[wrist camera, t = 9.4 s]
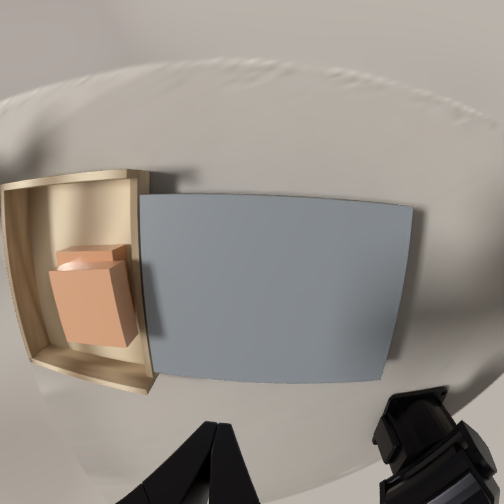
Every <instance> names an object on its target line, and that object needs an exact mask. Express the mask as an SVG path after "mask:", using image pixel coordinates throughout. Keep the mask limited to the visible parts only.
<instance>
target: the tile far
mask: <svg viewBox="0 0 504 504" xmlns="http://www.w3.org/2000/svg"><path fill="white" fill-rule="evenodd" d="M56 258H57V264H58V267H59V266H61V265H63V264H65V263H82V262H101V261H120V260H124V261H125V267H126V273H127V279H128V284H129V289H130V295H131V300H132V305H133V309H134V313H135V307H134V301H133V295H132V289H131V282H130V276H129V268H128V261H127V252H126V244H117V245H91V246H71V247H68V248H65V249H63V250H60V251H57V252H56Z"/></svg>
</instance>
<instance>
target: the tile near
mask: <svg viewBox="0 0 504 504" xmlns="http://www.w3.org/2000/svg"><path fill="white" fill-rule="evenodd" d="M49 276H50V281H51V285H52V290H53V294H54V298H55V302H56V306H57V309H58V313H59V316H60V320H61V323H62V327H63V330H64V333H65V336H66V339H67V342H75V343H82V344H91V345H100V346H110V347H121V348H127V347H128V346H129V345H130V344H131V342H132V341H133V340H134V339H135V337H136V336H137V335H138V334H139V332H138V327H137V323H136V319H135V314H134V309H133V305H132V300H131V295H130V289H129V284H128V279H127V273H126V267H125V261H124V260H120V261H101V262H82V263H65V264H63V265H61V266H59V267H56V268H54V269H52V270H50V271H49Z"/></svg>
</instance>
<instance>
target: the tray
mask: <svg viewBox="0 0 504 504" xmlns="http://www.w3.org/2000/svg"><path fill="white" fill-rule="evenodd" d="M145 194H150V171H143V170H132V169H119V170H106V171H95V172H85V173H75V174H67V175H59V176H51V177H44V178H37V179H30V180H24V181H18V182H12V183H6V184H1V218H2V232H3V243H4V251H5V259H6V266H7V272H8V278H9V284H10V289H11V294H12V299H13V303H14V308H15V312H16V316H17V320H18V324H19V328H20V331H21V334H22V338H23V341H24V345H25V348H26V351H27V354H28V357H29V360H30V362H32V363H35V364H37V365H40V366H43V367H46V368H48V369H51V370H54V371H57V372H60V373H63V374H66V375H70V376H73V377H76V378H80V379H83V380H86V381H90V382H94V383H97V384H101V385H105V386H109V387H113V388H117V389H122V390H126V391H131V392H135V393H140V394H145V395H148V393H149V391H150V389H151V387H152V386H153V384H154V382H155V380H156V378H157V377H158V375H159V373H158V372H154V368H153V362H152V356H151V349H150V342H149V334H148V326H147V318H146V308H145V298H144V287H143V274H142V259H141V237H140V195H145ZM117 244H126V252H127V261H128V268H129V276H130V282H131V289H132V295H133V301H134V307H135V313H134V314H135V319H136V323H137V327H138V332H139V334H138V335H137V336H136V337H135V339H134V340H133V341H132V342H131V344H130V345H129V346H128V347H127V348H121V347H110V346H100V345H91V344H82V343H75V342H67V339H66V336H65V333H64V330H63V327H62V323H61V320H60V316H59V313H58V309H57V306H56V302H55V298H54V294H53V290H52V285H51V281H50V276H49V271H50V270H52V269H54V268H56V267H58V264H57V258H56V252H57V251H60V250H63V249H65V248H68V247H71V246H91V245H117Z"/></svg>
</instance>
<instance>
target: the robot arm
mask: <svg viewBox="0 0 504 504" xmlns="http://www.w3.org/2000/svg"><path fill="white" fill-rule="evenodd" d="M446 394H447V389H446V388H445V387H441V388H436V389H431V390H425V391H419V392H413V393H407V394H400V395H394V396H391V397H390V398H389V400H388V402H387V405H386V407H385V410H384V413H383V415H382V417H381V418H380V420H379V423H378V425H377V428H376V430H375V432H374V436H373V439H372V442H373V444H374V445H378V448H379V451H380V453H381V456H382V459H383V462H384V463H385V464H389V465H390V467H391V470H392V473H393V476H391V477H390V478H388V479H385V480H383V481H382V482H380V504H499V496H500V489H499V487H498V485H497V483H496V482H495V480H494V478H493V477H492V476H493V475H494V474H495V473H497V469H496V466H495V463H494V461H493V458H492V456H491V453H490V451H489V449H488V447H487V445H486V444H485V442H484V441H483V440H482V438H481V437H480V436H479V434H478V433H477V432H476V431H475V430H473V429H472V428H471V427H470V426H469V425H467V424H466V423H465V422H463V421H462V420H461V421H460V422H459V423H458V424H457V425H456V423H455V422H454V420H453V419H452V417H451V416H450V414H449V413H448V411H447V410H446V408H445V407H444V405H443V404H442V403H443V400H444V398H445V396H446ZM208 498H209V504H261V503H260V502H259V499H258V496H257V494H256V491H255V489H254V486H253V484H252V481H251V478H250V476H249V473H248V470H247V468H246V465H245V462H244V459H243V457H242V454H241V451H240V448H239V445H238V442H237V440H236V437H235V434H234V431H233V428H232V425H231V424H229V423H217V422H210V421H205V422H204V423H203V424H202V425H201V426H200V427H199V428H198V429H197V430H196V431H195V432H194V433H193V434H192V435H191V436H190V437H189V438H188V439H187V440H186V441H185V442H184V443H183V444H182V445H181V446H180V447H179V448H178V449H177V450H176V451H175V452H174V453H173V454H172V455H171V456H170V457H169V458H168V459H167V460H166V461H165V462H164V463H162V464H161V465H160V466H159V467H158V468H157V469H156V470H155V471H154V472H153V473H152V474H151V475H150V476H149V477H147V478H146V479H145V480H144V481H143V482H142V484H140V485H138V486H137V487H136V488H135V489H134V490H133V491H132V492H130V493H129V494H128V495H127V496H125V497H124V498H123V499H121V500H120V501H118V502H117V503H115V504H207V501H208Z"/></svg>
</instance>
